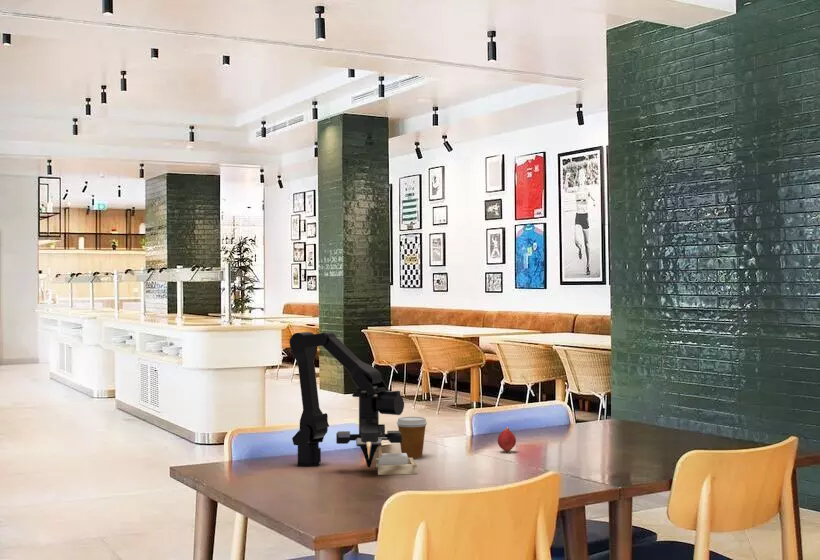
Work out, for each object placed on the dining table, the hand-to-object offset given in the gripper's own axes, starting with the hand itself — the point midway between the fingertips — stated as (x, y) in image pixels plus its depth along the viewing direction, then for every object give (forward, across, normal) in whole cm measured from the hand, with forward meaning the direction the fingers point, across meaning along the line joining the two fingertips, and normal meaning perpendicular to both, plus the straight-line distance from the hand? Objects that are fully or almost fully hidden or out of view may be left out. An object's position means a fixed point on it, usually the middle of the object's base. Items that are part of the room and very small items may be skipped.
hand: (368, 467), depth 271 cm
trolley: (+1, +7, 0) cm, 7 cm away
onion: (+1, +45, +26) cm, 52 cm away
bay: (+1, +7, 0) cm, 7 cm away
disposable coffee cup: (+1, +14, +21) cm, 25 cm away
